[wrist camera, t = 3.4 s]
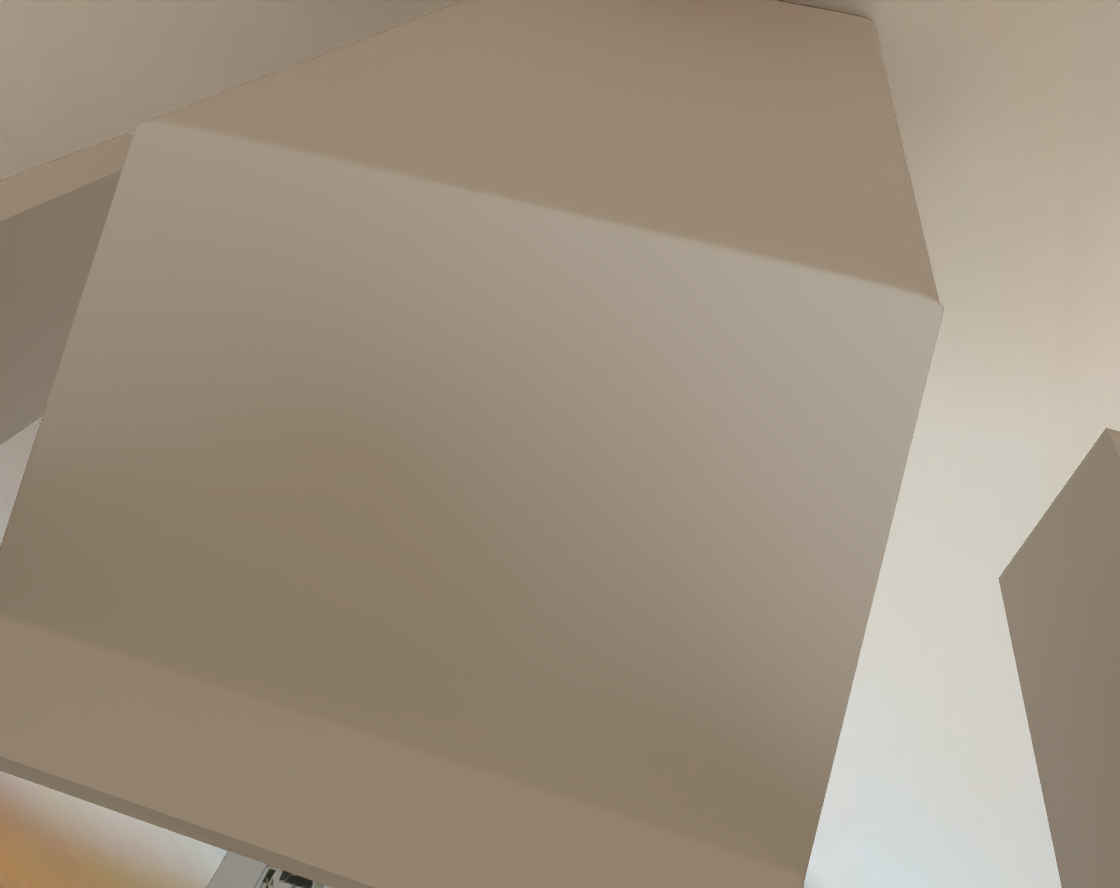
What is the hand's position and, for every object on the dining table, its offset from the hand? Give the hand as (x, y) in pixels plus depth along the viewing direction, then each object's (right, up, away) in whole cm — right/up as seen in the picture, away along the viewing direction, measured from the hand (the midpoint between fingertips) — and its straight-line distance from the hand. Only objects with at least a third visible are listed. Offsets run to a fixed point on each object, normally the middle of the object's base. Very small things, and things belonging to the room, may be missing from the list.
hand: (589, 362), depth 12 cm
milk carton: (+3, +6, +9) cm, 12 cm away
